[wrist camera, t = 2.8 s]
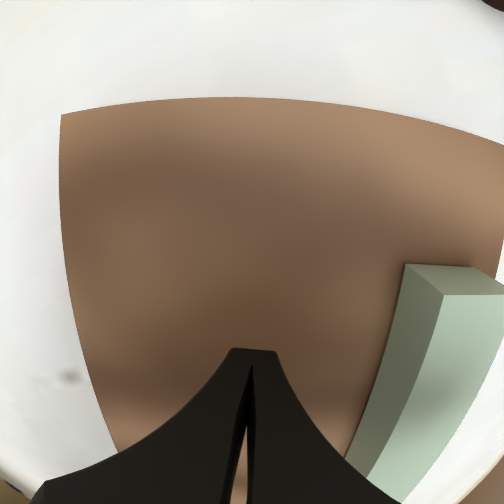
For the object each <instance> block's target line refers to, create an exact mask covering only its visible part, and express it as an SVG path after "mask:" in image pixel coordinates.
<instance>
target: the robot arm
mask: <svg viewBox="0 0 504 504" xmlns="http://www.w3.org/2000/svg"><path fill="white" fill-rule="evenodd" d="M246 426H247V501H246V504H401V503H400V502H398V501H396V500H395V499H393V498H392V497H390V496H389V495H387V494H386V493H385V492H383V491H382V490H380V489H379V488H378V487H376V486H375V485H374V484H372V483H371V482H370V481H369V480H368V479H367V478H365V477H364V476H363V475H362V474H361V473H360V472H359V471H357V470H356V469H355V468H354V467H353V466H352V465H351V464H350V463H348V462H347V461H346V460H345V459H344V458H343V457H342V456H341V455H340V454H339V452H338V451H337V450H336V449H335V448H334V447H333V446H332V445H331V444H330V443H329V441H328V440H327V439H326V438H325V437H324V435H323V434H322V433H321V432H320V430H319V429H318V428H317V427H316V425H315V424H314V422H313V421H312V420H311V418H310V417H309V415H308V414H307V412H306V411H305V409H304V408H303V406H302V404H301V403H300V401H299V400H298V398H297V396H296V394H295V392H294V391H293V389H292V387H291V385H290V383H289V381H288V379H287V377H286V375H285V373H284V371H283V368H282V366H281V363H280V361H279V358H278V354H277V353H276V352H275V351H270V350H257V349H246V348H235V347H233V348H232V349H230V350H229V352H228V354H227V355H226V357H225V359H224V360H223V362H222V363H221V364H220V366H219V367H218V369H217V370H216V371H215V373H214V374H213V375H212V376H211V377H210V379H209V380H208V381H207V382H206V383H205V385H204V386H203V387H202V388H201V389H200V390H199V391H198V392H197V393H196V394H195V395H194V396H193V398H192V399H191V400H190V401H189V402H188V403H187V404H186V405H185V406H184V407H182V408H181V409H180V410H179V411H178V412H177V413H176V414H175V415H174V416H172V417H171V418H170V419H169V420H167V421H166V422H165V423H164V424H162V425H161V426H160V427H159V428H157V429H156V430H154V431H153V432H151V433H150V434H149V435H147V436H146V437H144V438H143V439H141V440H140V441H138V442H137V443H135V444H133V445H132V446H130V447H128V448H127V449H125V450H123V451H121V452H119V453H117V454H115V455H113V456H111V457H109V458H107V459H105V460H103V461H101V462H99V463H97V464H94V465H92V466H90V467H87V468H85V469H82V470H79V471H76V472H73V473H70V474H67V475H64V476H61V477H58V478H54V479H51V480H47V481H45V482H44V483H43V484H42V486H41V487H40V488H39V489H38V491H37V492H36V493H35V495H34V496H33V498H32V500H31V501H30V503H29V504H230V502H231V494H232V489H233V484H234V479H235V475H236V471H237V466H238V462H239V458H240V453H241V449H242V445H243V440H244V436H245V431H246Z"/></svg>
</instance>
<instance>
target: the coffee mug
mask: <svg viewBox="0 0 504 504" xmlns="http://www.w3.org/2000/svg"><path fill="white" fill-rule="evenodd" d="M482 1H484V2H485V3H487V4H488V5H490V6H492V7H493V8H495V9H498V10H500V11H503V12H504V0H482Z"/></svg>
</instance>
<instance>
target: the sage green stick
mask: <svg viewBox="0 0 504 504" xmlns="http://www.w3.org/2000/svg"><path fill="white" fill-rule="evenodd" d="M503 336H504V285H502V284H501V283H499V282H498V281H496V280H495V279H493V278H491V277H490V276H488V275H487V274H485V273H483V272H482V271H480V270H478V269H477V268H475V267H460V266H441V265H423V264H405V269H404V275H403V280H402V284H401V289H400V294H399V298H398V303H397V307H396V311H395V315H394V319H393V323H392V327H391V331H390V335H389V338H388V342H387V345H386V349H385V352H384V356H383V359H382V362H381V365H380V369H379V372H378V375H377V378H376V381H375V384H374V387H373V390H372V392H371V395H370V398H369V401H368V404H367V406H366V409H365V412H364V414H363V417H362V419H361V422H360V424H359V427H358V429H357V432H356V434H355V436H354V439H353V441H352V443H351V446H350V448H349V450H348V452H347V455H346V457H345V460H346V461H347V462H348V463H350V464H351V465H352V466H353V467H354V468H355V469H356V470H357V471H359V472H360V473H361V474H362V475H363V476H364V477H365V478H367V479H368V480H369V481H370V482H371V483H372V484H374V485H375V486H376V487H378V488H379V489H380V490H382V491H383V492H385V493H386V494H387V495H389V496H390V497H392V498H393V499H395V500H396V501H398V502H400V503H402V502H403V501H404V500H405V498H406V497H407V496H408V495H409V494H410V493H411V492H412V490H413V489H414V488H415V487H416V486H417V484H418V483H419V482H420V481H421V479H422V478H423V477H424V476H425V474H426V473H427V472H428V471H429V469H430V468H431V467H432V465H433V464H434V463H435V461H436V460H437V458H438V457H439V456H440V454H441V453H442V451H443V450H444V448H445V447H446V446H447V444H448V443H449V441H450V440H451V438H452V436H453V435H454V433H455V432H456V430H457V429H458V427H459V425H460V424H461V422H462V420H463V419H464V417H465V415H466V414H467V412H468V410H469V408H470V407H471V405H472V403H473V401H474V399H475V397H476V396H477V394H478V392H479V390H480V388H481V386H482V384H483V382H484V380H485V378H486V376H487V373H488V371H489V369H490V367H491V365H492V363H493V360H494V358H495V356H496V353H497V351H498V348H499V346H500V344H501V341H502V338H503Z"/></svg>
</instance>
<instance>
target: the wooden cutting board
mask: <svg viewBox="0 0 504 504" xmlns="http://www.w3.org/2000/svg"><path fill="white" fill-rule="evenodd" d="M59 199H60V218H61V230H62V241H63V250H64V259H65V266H66V273H67V280H68V286H69V292H70V297H71V303H72V308H73V313H74V318H75V322H76V327H77V331H78V335H79V340H80V344H81V347H82V351H83V355H84V359H85V362H86V366H87V369H88V373H89V376H90V379H91V382H92V385H93V389H94V392H95V395H96V398H97V401H98V403H99V406H100V409H101V412H102V414H103V417H104V420H105V422H106V425H107V427H108V430H109V432H110V435H111V437H112V440H113V442H114V444H115V447H116V449H117V451H118V453H119V452H121V451H123V450H125V449H127V448H128V447H130V446H132V445H133V444H135V443H137V442H138V441H140V440H141V439H143V438H144V437H146V436H147V435H149V434H150V433H151V432H153V431H154V430H156V429H157V428H159V427H160V426H161V425H162V424H164V423H165V422H166V421H167V420H169V419H170V418H171V417H172V416H174V415H175V414H176V413H177V412H178V411H179V410H180V409H181V408H182V407H184V406H185V405H186V404H187V403H188V402H189V401H190V400H191V399H192V398H193V396H194V395H195V394H196V393H197V392H198V391H199V390H200V389H201V388H202V387H203V386H204V385H205V383H206V382H207V381H208V380H209V379H210V377H211V376H212V375H213V374H214V373H215V371H216V370H217V369H218V367H219V366H220V364H221V363H222V362H223V360H224V359H225V357H226V355H227V354H228V352H229V350H230V349H232V348H233V347H235V348H246V349H257V350H270V351H275V352H276V353H277V354H278V358H279V361H280V363H281V366H282V368H283V371H284V373H285V375H286V377H287V379H288V381H289V383H290V385H291V387H292V389H293V391H294V392H295V394H296V396H297V398H298V400H299V401H300V403H301V404H302V406H303V408H304V409H305V411H306V412H307V414H308V415H309V417H310V418H311V420H312V421H313V422H314V424H315V425H316V427H317V428H318V429H319V430H320V432H321V433H322V434H323V435H324V437H325V438H326V439H327V440H328V441H329V443H330V444H331V445H332V446H333V447H334V448H335V449H336V450H337V451H338V452H339V454H340V455H341V456H342V457H343V458H344V459H345V457H346V455H347V452H348V450H349V448H350V446H351V443H352V441H353V439H354V436H355V434H356V432H357V429H358V427H359V424H360V422H361V419H362V417H363V414H364V412H365V409H366V406H367V404H368V401H369V398H370V395H371V392H372V390H373V387H374V384H375V381H376V378H377V375H378V372H379V369H380V365H381V362H382V359H383V356H384V352H385V349H386V345H387V342H388V338H389V335H390V331H391V327H392V323H393V319H394V315H395V311H396V307H397V303H398V298H399V294H400V289H401V284H402V280H403V275H404V269H405V264H423V265H441V266H460V267H475V268H477V269H478V270H480V271H482V272H483V273H485V274H487V275H488V276H490V277H491V278H493V279H495V277H496V272H497V268H498V264H499V259H500V255H501V250H502V244H503V239H504V145H502V144H499V143H497V142H494V141H491V140H488V139H486V138H483V137H480V136H477V135H474V134H471V133H467V132H464V131H461V130H458V129H454V128H451V127H447V126H444V125H440V124H436V123H432V122H429V121H425V120H420V119H416V118H412V117H408V116H403V115H398V114H393V113H388V112H383V111H378V110H372V109H366V108H360V107H354V106H347V105H340V104H332V103H323V102H314V101H303V100H291V99H275V98H249V97H209V98H184V99H168V100H156V101H145V102H136V103H128V104H120V105H113V106H106V107H100V108H94V109H88V110H83V111H77V112H72V113H67V114H63V115H61V124H60V142H59ZM246 501H247V426H246V431H245V436H244V440H243V445H242V449H241V453H240V458H239V462H238V466H237V471H236V475H235V479H234V484H233V489H232V494H231V502H230V504H246Z"/></svg>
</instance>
